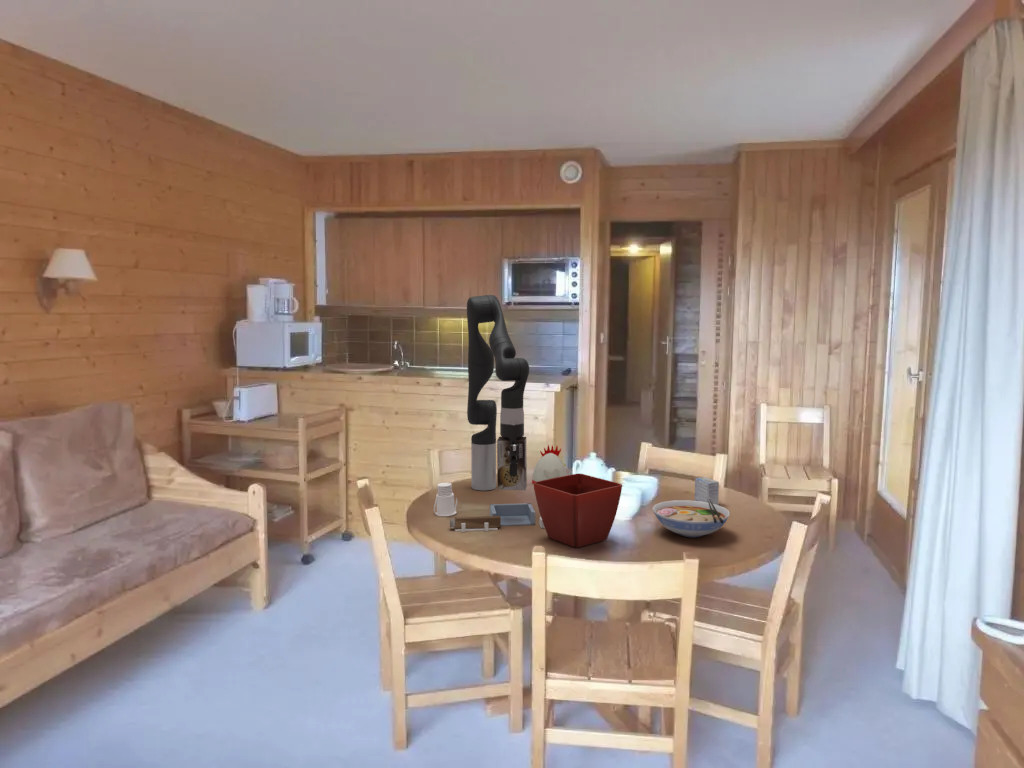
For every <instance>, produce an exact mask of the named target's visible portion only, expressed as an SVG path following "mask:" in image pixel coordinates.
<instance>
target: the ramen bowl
mask: <svg viewBox="0 0 1024 768" xmlns="http://www.w3.org/2000/svg"><path fill="white" fill-rule="evenodd" d="M707 500H708V499H707ZM709 500H710V499H709ZM710 502H711V501H710ZM652 511H653V513H654V515H655V517H656V518H657V520H658V521H659V523H660V524H661V526H663V527H664V528H666V529H667V530H669V531H670V532H673V533H675V534H677V535H679V536H682V537H684V538H685V537H686V538H700V537H703V536H706V535H711V534H713V533H714V532H716V531H718V530H720V529H721V528H722V527H723V526H724V525H725V524H726V523H727V521H728V519H729V517H730V514H731V511H729V510H728V508H726V507H723V506H721V505H719V504H718V505H716V504H712V502H711V503H709V501H708V503H707V502H701V501H695V500H689V499H686V500H685V499H683V500H681V499H679V500H677V499H674V500H667V501H661V502H658V503H656V504H654V505H653V506H652Z"/></svg>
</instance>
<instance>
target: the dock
mask: <svg viewBox="0 0 1024 768" xmlns="http://www.w3.org/2000/svg"><path fill="white" fill-rule="evenodd" d="M489 516H500V517H501V527H504V526H505V527H507V526H535V525H536V511H535V508H534V507H533V505H532V503H531V502H529V503H526V502H525V503H497V504H496V503H493V504H489Z"/></svg>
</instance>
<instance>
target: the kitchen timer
mask: <svg viewBox="0 0 1024 768" xmlns="http://www.w3.org/2000/svg"><path fill="white" fill-rule="evenodd" d="M558 449H559V447H558V445H556V446H555V449H554V446H553V444H551V449H550V445H549V444H547V448H545V447H543V451H544V453H543V452H542V451H541V450H540V454H541V457H540V458H539V459H538V460H537V462H536V463H535V465H534V468H533V472H532V476H531V483H532V485H533V486H534V484H533V483H534V482H537V481H542V480H547V479H552V478H557V477H562V476H567V475H568V472H567V470H566V469H567V468H566V465H567V464H566V463H564V462H563V460H562V459H561V457H560V456H559V455H560V453H561V451H562V448H560V449H559V450H558Z"/></svg>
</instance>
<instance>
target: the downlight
mask: <svg viewBox="0 0 1024 768" xmlns="http://www.w3.org/2000/svg"><path fill="white" fill-rule="evenodd" d="M452 488H453V486H452V483H451V482H440V483H437V493H436V495H435V496H436V497H435V501H434V504H433V505H434V506H433V512H434V515H435V516H438V517H451V516H454V515H456V514H457V510H456V509H457V504H458V498H457V497H455V495H454V494H455V493H454V492H453V489H452Z"/></svg>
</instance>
